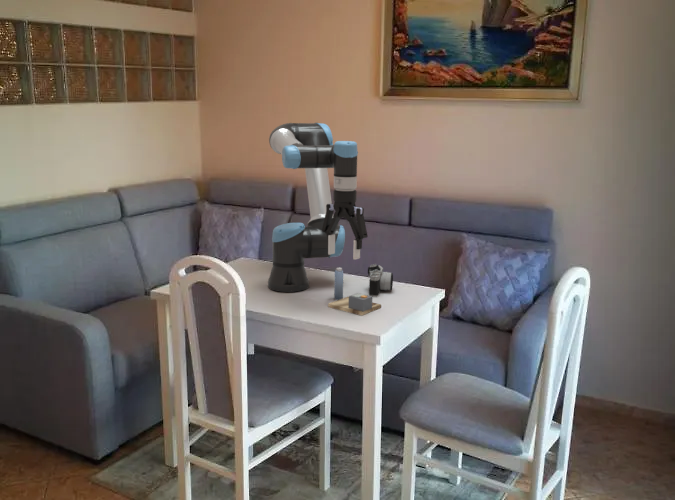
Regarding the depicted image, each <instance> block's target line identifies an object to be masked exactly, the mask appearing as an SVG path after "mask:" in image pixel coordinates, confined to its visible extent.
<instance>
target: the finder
mask: <svg viewBox="0 0 675 500" xmlns="http://www.w3.org/2000/svg"><path fill="white" fill-rule="evenodd" d="M348 297H349V307H348V308H351V309H355V310H359V311H362V312H364V311H366V310H369V309H371V308H372V302H373V297H372V296H369V294H368V295H367V294H364V293H359V292H356V293H354V294H351V295H349V296H348Z"/></svg>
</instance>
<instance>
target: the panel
mask: <svg viewBox="0 0 675 500" xmlns="http://www.w3.org/2000/svg"><path fill="white" fill-rule="evenodd" d="M327 307H328V308H332V309H335V310H338V311H341V312H347V313H350V314H354V315H358V316H364V315H366V314H369V313H371V312H374V311H376V310H379V309H381V308H382V304H381V303H376V302H373V301H372V308H371V309H369V310H366V311H364V312H362V311H359V310H355V309H351V308H348V307H349V296H346V297H343V299H340V300H334V301H331V302H328V306H327Z"/></svg>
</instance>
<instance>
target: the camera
mask: <svg viewBox="0 0 675 500" xmlns="http://www.w3.org/2000/svg"><path fill="white" fill-rule="evenodd" d="M367 275H368V276H369V282H368V283H369V286H368V287H369V288H368V289H369V290H368V291H369V292H368V296H372V298H378V297H380V294H381V291H392V290H393V285H394V284H393V283H394V273H393V272H389V271H384V267H382V266H381V265H380V264H378V265H377V263H374V264H370V265H369V266H368V267H367Z"/></svg>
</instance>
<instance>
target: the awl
mask: <svg viewBox="0 0 675 500" xmlns="http://www.w3.org/2000/svg"><path fill="white" fill-rule="evenodd" d="M333 287H334V292H333V293H334V294H333V299H334V300H335V301H337V300H340V299H343V298H344V270H343V267H340V266H339V267H336V268H335V270H334V286H333Z"/></svg>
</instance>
